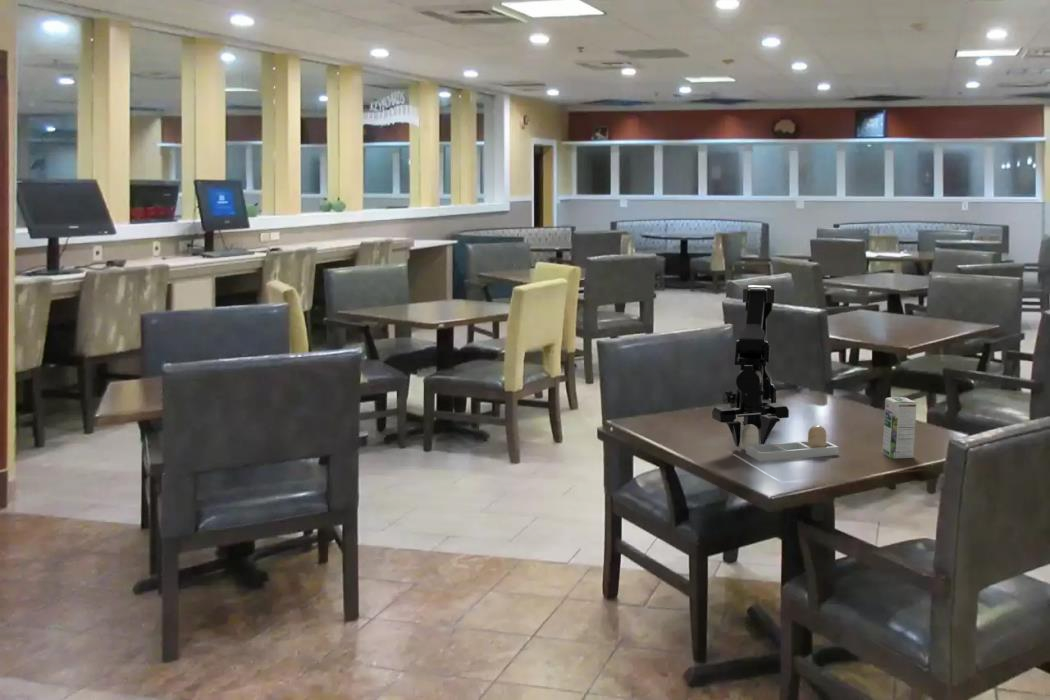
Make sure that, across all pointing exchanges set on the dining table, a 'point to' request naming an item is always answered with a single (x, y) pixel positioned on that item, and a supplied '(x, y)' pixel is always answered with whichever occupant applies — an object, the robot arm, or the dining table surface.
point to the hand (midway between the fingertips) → (749, 445)
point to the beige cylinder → (817, 437)
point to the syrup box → (899, 427)
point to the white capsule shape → (749, 436)
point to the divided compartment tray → (789, 451)
